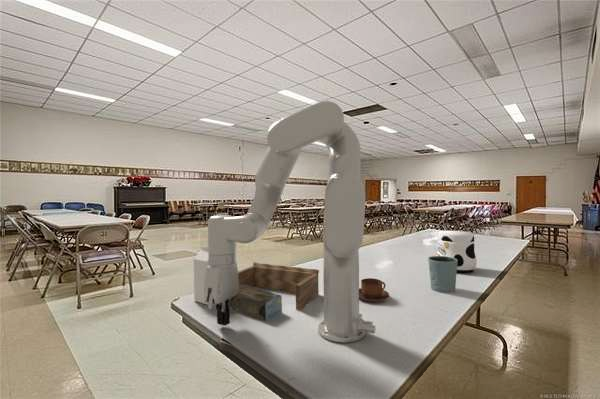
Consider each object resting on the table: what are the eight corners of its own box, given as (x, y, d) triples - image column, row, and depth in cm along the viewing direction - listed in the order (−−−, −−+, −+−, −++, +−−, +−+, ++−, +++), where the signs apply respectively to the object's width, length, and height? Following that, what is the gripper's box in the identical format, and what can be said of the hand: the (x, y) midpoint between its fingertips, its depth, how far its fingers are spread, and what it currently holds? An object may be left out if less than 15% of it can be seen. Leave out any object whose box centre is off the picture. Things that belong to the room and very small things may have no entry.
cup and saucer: (366, 290, 112) (366, 274, 112) (395, 298, 104) (395, 281, 104) (348, 298, 104) (347, 281, 104) (377, 307, 95) (377, 289, 95)
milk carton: (207, 305, 98) (206, 249, 98) (194, 301, 102) (193, 247, 102) (223, 298, 104) (222, 246, 104) (210, 295, 108) (209, 244, 108)
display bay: (319, 294, 108) (318, 269, 108) (300, 310, 93) (299, 281, 93) (254, 284, 121) (254, 262, 121) (228, 297, 106) (228, 272, 106)
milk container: (428, 267, 145) (428, 231, 145) (452, 263, 152) (452, 229, 152) (460, 276, 129) (460, 236, 129) (484, 271, 137) (485, 233, 136)
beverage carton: (265, 322, 86) (265, 300, 85) (224, 307, 97) (224, 288, 97) (282, 313, 92) (282, 293, 92) (242, 300, 103) (242, 282, 103)
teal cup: (460, 289, 112) (460, 258, 112) (453, 296, 105) (453, 263, 105) (433, 283, 119) (433, 254, 119) (424, 289, 112) (424, 258, 111)
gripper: (229, 253, 90) (230, 311, 90) (192, 263, 76) (193, 332, 77) (249, 255, 87) (250, 315, 87) (214, 266, 73) (215, 338, 74)
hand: (223, 323), depth 82 cm, fingers closed
